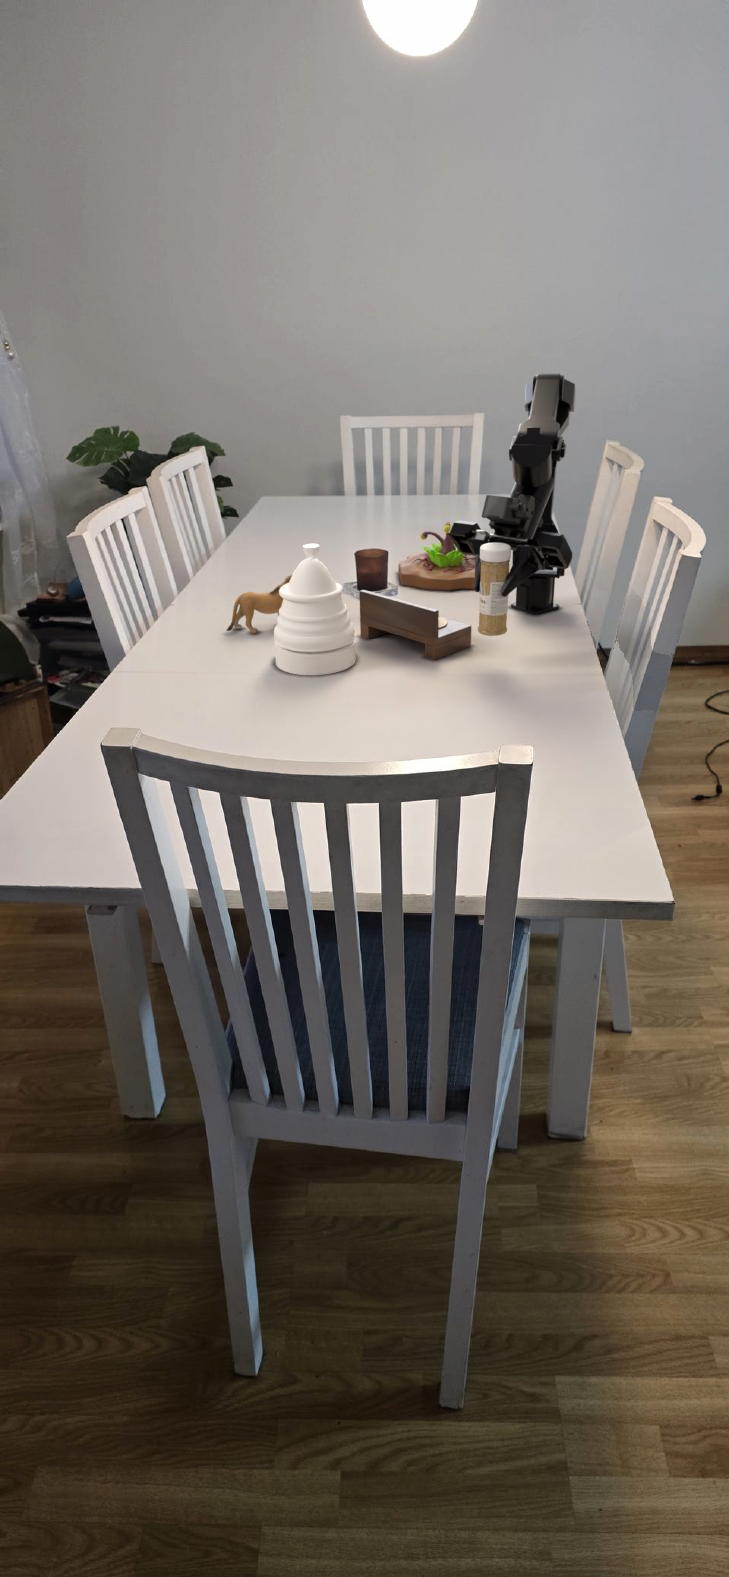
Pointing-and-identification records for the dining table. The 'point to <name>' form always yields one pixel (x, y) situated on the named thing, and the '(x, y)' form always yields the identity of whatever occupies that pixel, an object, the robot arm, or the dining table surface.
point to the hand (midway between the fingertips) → (489, 593)
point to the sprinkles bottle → (493, 588)
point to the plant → (439, 566)
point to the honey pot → (313, 622)
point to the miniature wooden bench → (412, 624)
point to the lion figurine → (256, 606)
